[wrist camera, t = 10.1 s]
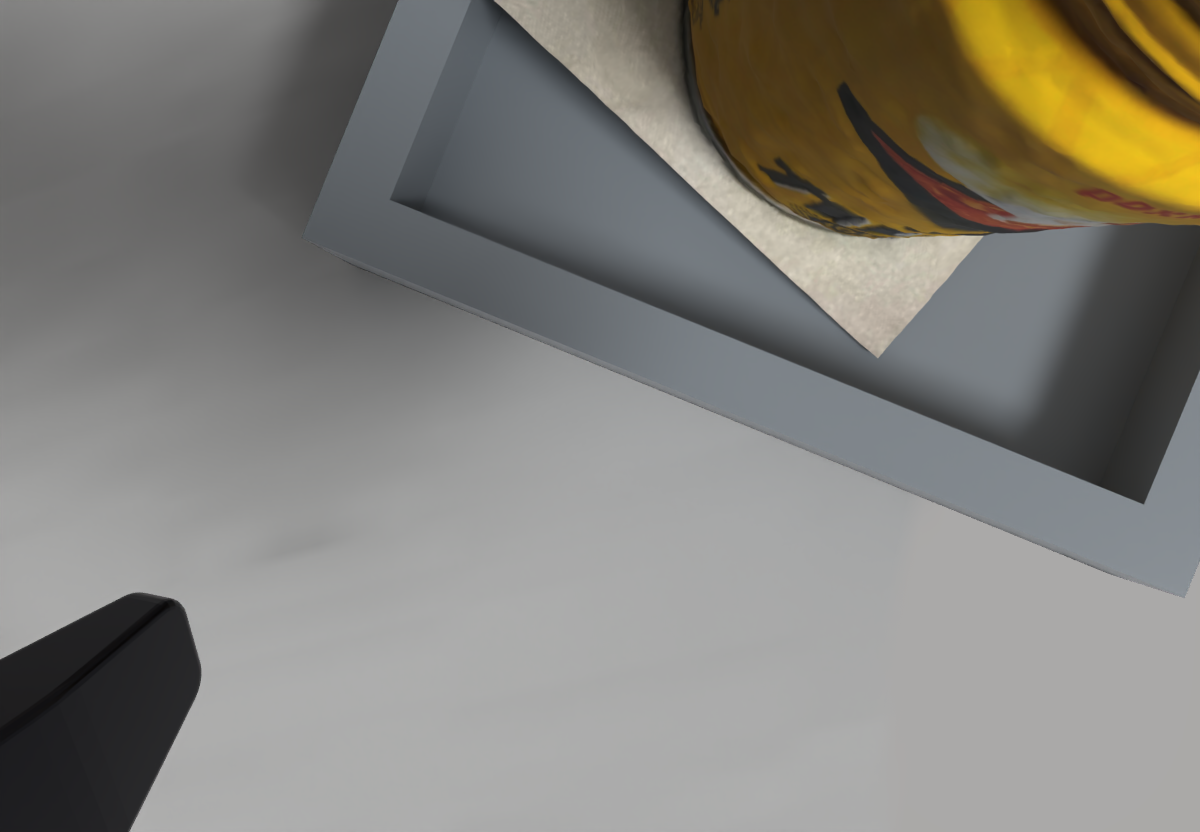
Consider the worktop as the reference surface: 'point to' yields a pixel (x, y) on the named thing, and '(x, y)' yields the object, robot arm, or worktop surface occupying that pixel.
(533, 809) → the worktop surface
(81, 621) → the robot arm
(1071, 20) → the condiment
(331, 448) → the worktop surface
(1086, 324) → the grey shallow square tray
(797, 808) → the worktop surface
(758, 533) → the worktop surface
